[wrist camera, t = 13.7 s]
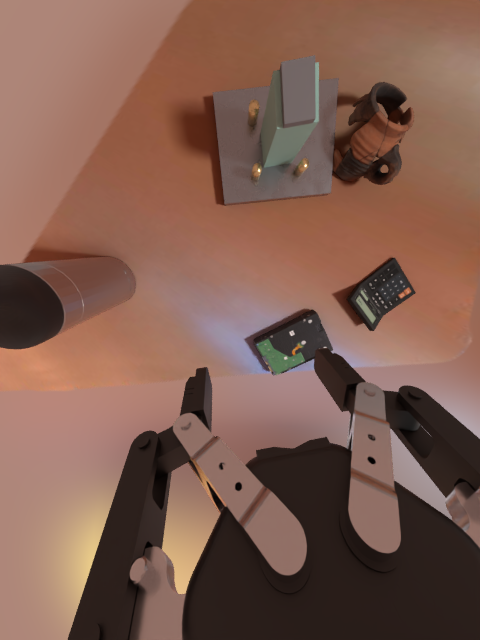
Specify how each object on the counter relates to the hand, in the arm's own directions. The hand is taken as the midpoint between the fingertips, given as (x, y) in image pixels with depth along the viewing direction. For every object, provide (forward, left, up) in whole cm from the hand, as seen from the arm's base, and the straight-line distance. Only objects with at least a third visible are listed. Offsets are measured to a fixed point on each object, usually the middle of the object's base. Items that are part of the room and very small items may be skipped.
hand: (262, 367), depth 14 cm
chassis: (+6, +22, -27) cm, 36 cm away
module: (+6, +22, -26) cm, 35 cm away
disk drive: (+9, -13, -28) cm, 32 cm away
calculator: (+27, -4, -28) cm, 39 cm away
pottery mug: (+21, +21, -28) cm, 40 cm away
